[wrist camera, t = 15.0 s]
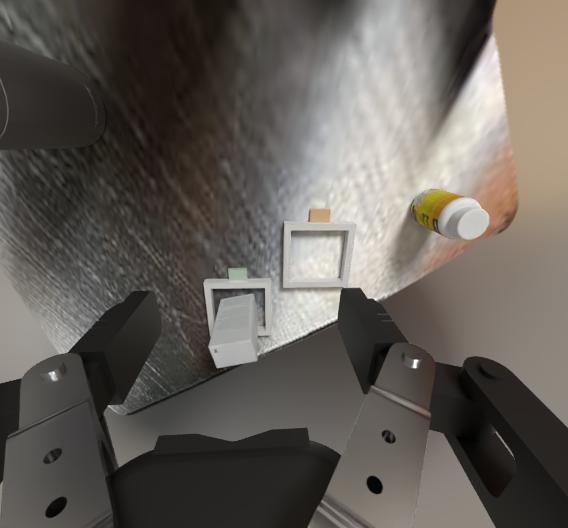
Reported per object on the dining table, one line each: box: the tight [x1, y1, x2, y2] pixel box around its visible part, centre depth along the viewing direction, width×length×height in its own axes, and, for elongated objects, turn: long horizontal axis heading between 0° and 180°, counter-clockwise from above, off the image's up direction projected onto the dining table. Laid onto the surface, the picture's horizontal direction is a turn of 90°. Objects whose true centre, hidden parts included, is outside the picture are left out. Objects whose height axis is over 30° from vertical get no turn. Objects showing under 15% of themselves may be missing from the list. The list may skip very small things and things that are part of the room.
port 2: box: [283, 209, 356, 288], centre depth 42 cm, size 11×13×2 cm
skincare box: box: [208, 293, 258, 368], centre depth 41 cm, size 6×4×12 cm
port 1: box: [204, 268, 271, 337], centre depth 46 cm, size 11×13×2 cm
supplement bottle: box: [411, 189, 489, 240], centre depth 37 cm, size 6×6×10 cm
